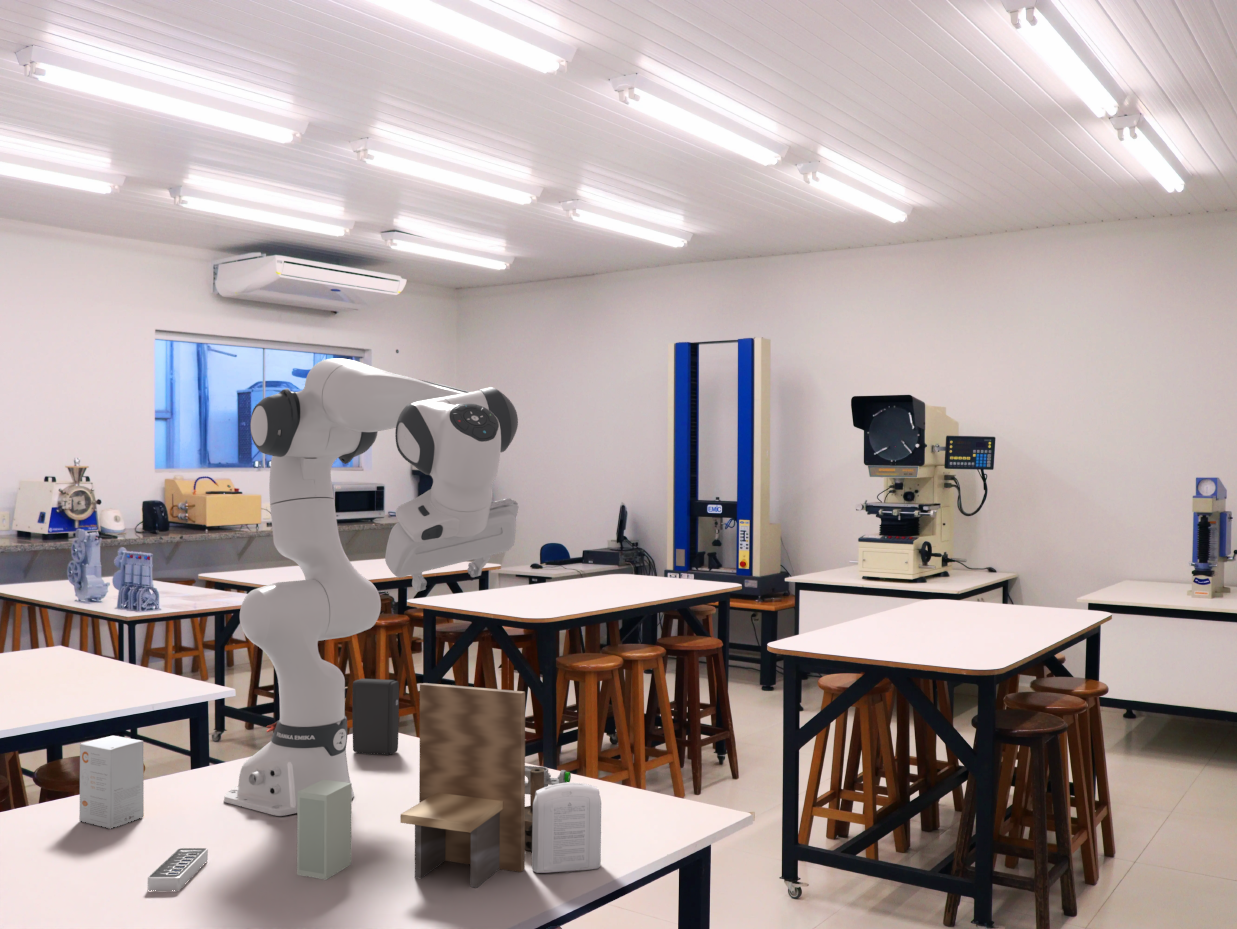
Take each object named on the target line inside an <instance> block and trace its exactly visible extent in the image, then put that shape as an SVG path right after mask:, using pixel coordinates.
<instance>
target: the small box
mask: <svg viewBox="0 0 1237 929" xmlns="http://www.w3.org/2000/svg"><path fill="white" fill-rule="evenodd" d="M144 772H145V771H144V740H140V739H135V738H130V737H129V738H128V737H124V736H117V735H110V736H106V737H101V738H98V739H93V740H87V741H84V742H81V743H80V744H79V818H78V819H79V822H80V821H82V822H81V823H85V822H86V823H85V824H89V825H93V824H94V825H93V826H97V827H101V826H102V827H101V828H105V827H106V829H109V828H110V830H112V829H114V828H113V827H115V828H117V826H118V827H120V825H121V826H123V825H126V824H129V823H131V821H132V822H134V820H135V821H136V820H140V819H142V818H144V814H145V813H144V811H145V810H144V803H145V802H144V799H145V798H144V792H145V791H144V788H145V787H144V779H145V778H144ZM139 818H140V819H139ZM128 822H129V823H128ZM122 824H123V825H122ZM111 828H112V829H111Z"/></svg>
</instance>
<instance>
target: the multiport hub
mask: <svg viewBox="0 0 1237 929" xmlns="http://www.w3.org/2000/svg"><path fill="white" fill-rule="evenodd" d="M208 853H209V849H208V848H207V847H203V848H202V847H200V848H199V847H191V848H190V847H189V848H187V847H183V848H181V847H180V848H178V849H177V850H175V851H174V853H172V854H171V855H170V856H169V857H168V858H167V859H166V860H164V861H163V862H162V863H161V864H160V865H159V866H158V867H157V868H156V869H155V870H154V871H153V872H152V873H151V874H149V875H148V876H147V891H148V890H149V891H151V890H152V891H153V890H154V891H155V890H156V891H172V890H173V891H174V890H175V891H178V890H180V889H181V888H182V887H183V886H184V885H185V883H186V882H187V881H188V880H189V879H190V878H191V877H192V876H193V875H194V874H195V873H196V872H197V871H198V870H199V869H200V867H202V866H203V864H205V862H207V860H208V859H209V858H208V857H209V854H208ZM208 861H209V860H208ZM207 863H208V862H207ZM205 865H206V864H205ZM203 867H204V866H203ZM203 867H202V868H203ZM200 870H201V869H200ZM200 870H199V871H200ZM199 871H198V872H199ZM198 872H197V873H198ZM197 873H196V874H197ZM196 874H195V875H196ZM195 875H194V876H195ZM194 876H193V877H194ZM193 877H192V878H193ZM192 878H191V879H192ZM191 879H190V880H191ZM185 886H186V885H185ZM185 886H184V887H185ZM184 887H183V888H184ZM183 888H182V889H183ZM182 889H181V890H182ZM181 890H180V891H181ZM178 892H179V891H178Z"/></svg>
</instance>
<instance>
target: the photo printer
mask: <svg viewBox="0 0 1237 929" xmlns="http://www.w3.org/2000/svg"><path fill="white" fill-rule="evenodd" d="M601 844H602V800H601V795H600V790H599V788H598V787H597V786H595V785H592V784H587V783H584V782H583V783H582V782H567V783H559V784H554V785H548V786H547V787H544V788H542V789H539V790H537V791H536V792H535V798H534V801H533V830H532V851H531V852H532V853H531V869H532V871H533V872H535V873H537V874H539V873H541V874H542V873H548V874H549V873H558V872H559V873H561V872H572V871H586V870H595V869H599V868H600V867H601V864H602V863H601V860H602V859H601V857H602V856H601V855H602V851H601V850H602V849H601V848H602V847H601V846H602V845H601Z"/></svg>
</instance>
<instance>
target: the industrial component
mask: <svg viewBox="0 0 1237 929" xmlns="http://www.w3.org/2000/svg"><path fill="white" fill-rule="evenodd" d="M542 788H544V769H541V768H534V769H531V771H530V794H529V795H530V799H529V800H530V801H529V802H530V805H528V806H526V805H525V851H527V852H532V830H533V801H534V798H535V792H536V791H537V790H539V789H542Z"/></svg>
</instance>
